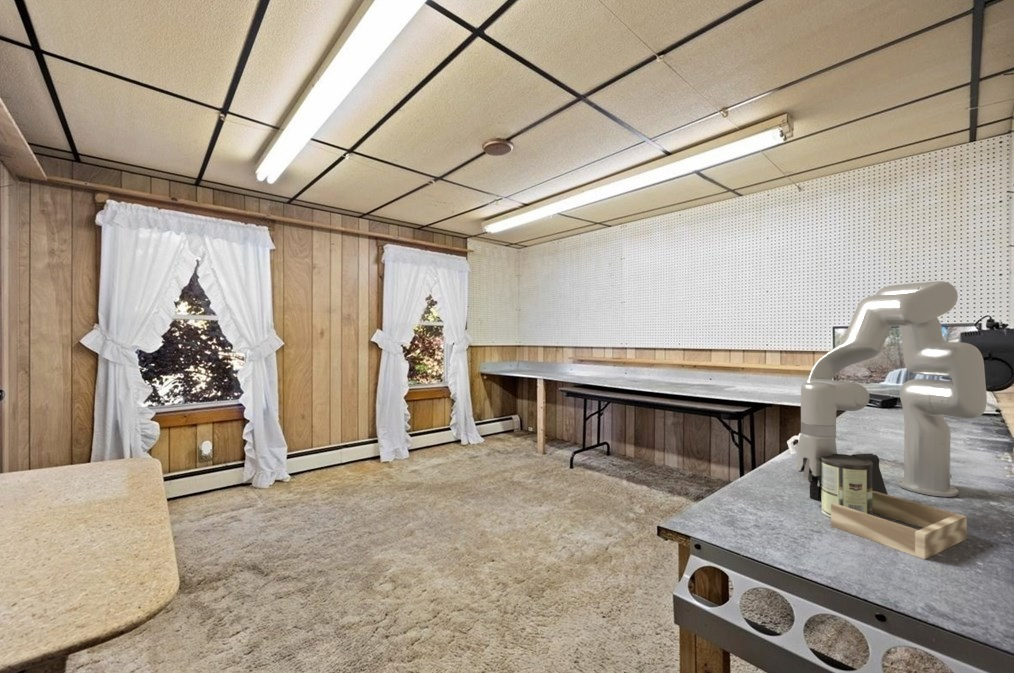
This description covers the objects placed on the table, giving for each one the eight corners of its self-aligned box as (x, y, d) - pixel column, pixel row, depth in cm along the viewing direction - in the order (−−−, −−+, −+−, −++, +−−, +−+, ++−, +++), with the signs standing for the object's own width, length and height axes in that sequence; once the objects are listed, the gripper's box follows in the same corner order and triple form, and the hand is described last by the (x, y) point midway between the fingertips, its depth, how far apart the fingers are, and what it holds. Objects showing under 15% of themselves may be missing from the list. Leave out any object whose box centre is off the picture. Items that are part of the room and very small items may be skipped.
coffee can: (844, 505, 114) (844, 452, 114) (884, 522, 104) (884, 463, 104) (810, 508, 112) (810, 454, 112) (847, 526, 102) (847, 466, 102)
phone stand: (890, 504, 115) (890, 458, 115) (869, 505, 114) (869, 459, 114) (859, 491, 124) (859, 449, 124) (840, 492, 123) (840, 450, 123)
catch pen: (874, 510, 111) (874, 490, 111) (966, 538, 95) (966, 516, 95) (830, 525, 103) (830, 504, 102) (924, 559, 87) (924, 534, 87)
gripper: (819, 424, 120) (819, 490, 120) (785, 430, 114) (785, 499, 114) (850, 430, 113) (850, 500, 114) (816, 436, 107) (816, 510, 107)
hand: (817, 499), depth 114 cm, fingers closed
